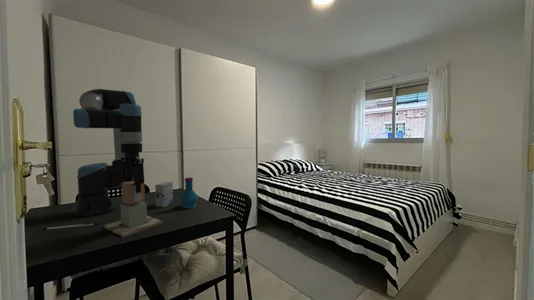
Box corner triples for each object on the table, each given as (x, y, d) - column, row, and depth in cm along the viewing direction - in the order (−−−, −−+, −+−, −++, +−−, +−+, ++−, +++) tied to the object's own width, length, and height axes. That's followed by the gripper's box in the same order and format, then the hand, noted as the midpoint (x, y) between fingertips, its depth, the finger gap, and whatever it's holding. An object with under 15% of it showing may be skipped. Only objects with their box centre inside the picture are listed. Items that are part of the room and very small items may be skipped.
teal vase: (191, 202, 130) (190, 175, 129) (202, 205, 125) (201, 177, 124) (176, 206, 123) (175, 178, 122) (187, 210, 117) (186, 180, 117)
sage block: (121, 223, 96) (120, 204, 96) (138, 218, 102) (138, 200, 101) (129, 227, 92) (128, 207, 92) (147, 222, 98) (146, 203, 97)
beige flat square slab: (104, 227, 95) (103, 224, 95) (143, 216, 108) (143, 214, 108) (122, 237, 86) (122, 234, 86) (163, 223, 99) (163, 221, 99)
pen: (98, 225, 98) (98, 222, 98) (41, 230, 92) (41, 228, 92) (98, 224, 99) (98, 221, 99) (42, 230, 93) (42, 227, 93)
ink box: (165, 202, 131) (164, 181, 130) (173, 202, 130) (173, 181, 129) (155, 206, 123) (154, 184, 122) (163, 207, 122) (163, 185, 121)
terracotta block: (122, 202, 96) (121, 182, 95) (137, 198, 101) (136, 180, 100) (129, 204, 92) (128, 184, 92) (144, 201, 97) (144, 181, 97)
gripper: (110, 142, 97) (113, 197, 99) (133, 143, 86) (135, 205, 88) (129, 142, 103) (131, 194, 105) (153, 143, 93) (155, 200, 94)
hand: (133, 199), depth 96 cm, fingers closed on terracotta block, 6 cm apart
